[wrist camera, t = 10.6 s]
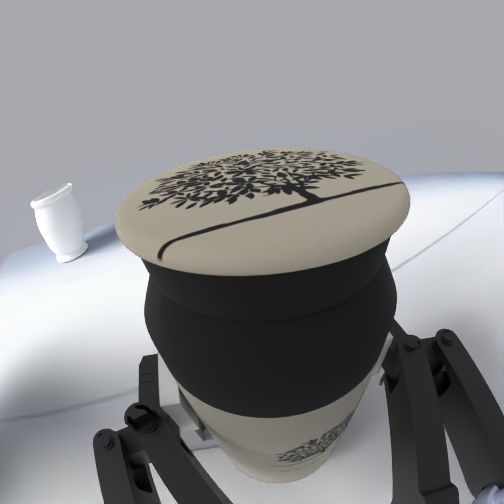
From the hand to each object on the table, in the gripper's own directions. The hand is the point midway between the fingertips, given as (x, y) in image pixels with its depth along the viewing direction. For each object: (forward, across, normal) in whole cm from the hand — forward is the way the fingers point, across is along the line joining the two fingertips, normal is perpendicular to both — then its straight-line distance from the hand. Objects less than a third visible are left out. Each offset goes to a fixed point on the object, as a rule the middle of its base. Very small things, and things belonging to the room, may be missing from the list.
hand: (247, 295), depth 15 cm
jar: (+42, -32, -14) cm, 54 cm away
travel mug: (-5, 0, -10) cm, 11 cm away
